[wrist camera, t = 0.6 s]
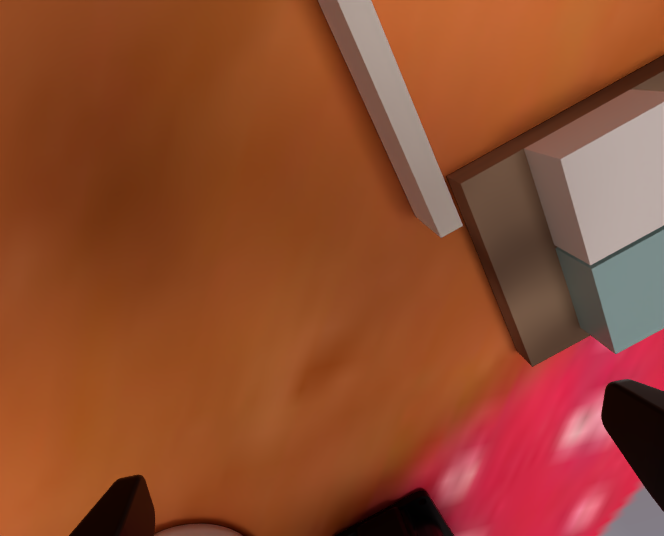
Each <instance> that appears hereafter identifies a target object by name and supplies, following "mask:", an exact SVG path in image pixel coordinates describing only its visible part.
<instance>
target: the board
mask: <svg viewBox="0 0 664 536" xmlns="http://www.w3.org/2000/svg"><path fill="white" fill-rule="evenodd" d="M630 89H631V90H647V91H663V92H664V55H663V56H662V57H660V58H658V59H656V60H654V61H653V62H651V63H649V64H647V65H645V66H644V67H642V68H640V69H638V70H636V71H635V72H633V73H631V74H629V75H627V76H626V77H624V78H622V79H620V80H618V81H617V82H615V83H613V84H611V85H609V86H608V87H606V88H604V89H602V90H601V91H599V92H597V93H595V94H593V95H592V96H590V97H588V98H586V99H584V100H583V101H581V102H579V103H577V104H575V105H574V106H572V107H570V108H568V109H566V110H565V111H563V112H561V113H559V114H557V115H556V116H554V117H552V118H550V119H548V120H547V121H545V122H543V123H541V124H540V125H538V126H536V127H534V128H532V129H531V130H529V131H527V132H525V133H523V134H522V135H520V136H518V137H516V138H514V139H513V140H511V141H509V142H507V143H505V144H504V145H502V146H500V147H498V148H496V149H495V150H493V151H491V152H489V153H487V154H486V155H484V156H482V157H480V158H479V159H477V160H475V161H473V162H471V163H470V164H468V165H466V166H464V167H462V168H461V169H459V170H457V171H455V172H453V173H452V174H450V175H448V176H447V179H448V181H449V184H450V186H451V189H452V191H453V194H454V196H455V199H456V201H457V204H458V206H459V209H460V211H461V214H462V216H463V219H464V221H465V223H466V226H467V228H468V231H469V233H470V236H471V238H472V241H473V243H474V246H475V248H476V251H477V253H478V256H479V258H480V261H481V263H482V266H483V268H484V271H485V273H486V275H487V278H488V280H489V283H490V285H491V288H492V290H493V293H494V295H495V298H496V300H497V303H498V305H499V308H500V310H501V313H502V315H503V318H504V320H505V323H506V325H507V327H508V330H509V332H510V335H511V337H512V340H513V342H514V345H515V347H516V350H517V352H518V353H519V354H520V355H521V356H522V357H523V358H524V359H525V360H526V361H527V362H528V363H529V364H530V365H531V366H532V367H533V366H535V365H536V364H538V363H540V362H542V361H544V360H546V359H548V358H549V357H551V356H553V355H555V354H557V353H559V352H560V351H562V350H564V349H566V348H568V347H570V346H572V345H573V344H575V343H577V342H579V341H581V340H583V339H585V338H586V337H588V336H590V334H588V333H587V332H586V331H584V330H583V329H582V328H580V325H579V322H578V318H577V315H576V312H575V309H574V306H573V303H572V299H571V296H570V293H569V290H568V287H567V284H566V280H565V277H564V274H563V271H562V268H561V265H560V262H559V258H558V255H557V252H556V249H555V248H557V246H555V245H554V243H553V239H552V236H551V233H550V230H549V227H548V224H547V220H546V217H545V214H544V211H543V208H542V205H541V201H540V198H539V195H538V192H537V189H536V186H535V182H534V179H533V176H532V173H531V170H530V167H529V164H528V160H527V157H526V154H525V151H524V148H526V147H528V146H530V145H531V144H533V143H535V142H537V141H539V140H540V139H542V138H544V137H546V136H548V135H549V134H551V133H553V132H555V131H557V130H558V129H560V128H562V127H564V126H566V125H567V124H569V123H571V122H573V121H575V120H576V119H578V118H580V117H582V116H583V115H585V114H587V113H589V112H591V111H592V110H594V109H596V108H598V107H600V106H601V105H603V104H605V103H607V102H609V101H610V100H612V99H614V98H616V97H618V96H619V95H621V94H623V93H625V92H627V91H628V90H630Z"/></svg>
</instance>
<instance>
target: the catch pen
mask: <svg viewBox="0 0 664 536" xmlns="http://www.w3.org/2000/svg"><path fill="white" fill-rule="evenodd" d="M318 2H319V4H320V7H321V9H322V11H323V13H324V16H325V18H326V20H327V22H328V24H329V27H330V29H331V31H332V33H333V35H334V38H335V40H336V42H337V44H338V46H339V49H340V51H341V53H342V55H343V57H344V60H345V62H346V64H347V66H348V68H349V71H350V73H351V75H352V77H353V79H354V82H355V84H356V86H357V88H358V90H359V93H360V95H361V97H362V99H363V101H364V104H365V106H366V108H367V110H368V113H369V115H370V117H371V119H372V121H373V124H374V126H375V128H376V130H377V132H378V135H379V137H380V139H381V141H382V143H383V146H384V148H385V150H386V152H387V154H388V157H389V159H390V161H391V163H392V165H393V168H394V170H395V172H396V174H397V176H398V179H399V181H400V183H401V185H402V187H403V190H404V192H405V194H406V196H407V199H408V201H409V203H410V205H411V207H412V210H413V212H414V214H415V216H416V217H417V218H418V219H419V220H420V221H422V222H423V223H424V224H425V225H426V226H427V227H429V228H430V229H431V230H432V231H433V232H435V233H436V234H437V235H438V236H439V237H441V238H442V237H444V236H445V235H447V234H449V233H451V232H453V231H454V230H456V229H458V228H460V227H462V226H463V225H462V222H461V220H460V217H459V215H458V212H457V210H456V207H455V205H454V203H453V200H452V198H451V195H450V193H449V190H448V188H447V185H446V183H445V180H444V178H443V176H442V173H441V171H440V168H439V166H438V163H437V161H436V158H435V156H434V153H433V151H432V149H431V146H430V144H429V141H428V139H427V136H426V134H425V131H424V129H423V126H422V124H421V122H420V119H419V117H418V114H417V112H416V109H415V107H414V104H413V102H412V99H411V97H410V95H409V92H408V90H407V87H406V85H405V82H404V80H403V77H402V75H401V72H400V70H399V68H398V65H397V63H396V60H395V58H394V55H393V53H392V50H391V48H390V45H389V43H388V41H387V38H386V36H385V33H384V31H383V28H382V26H381V23H380V21H379V18H378V16H377V14H376V11H375V9H374V6H373V4H372V1H371V0H318Z"/></svg>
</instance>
